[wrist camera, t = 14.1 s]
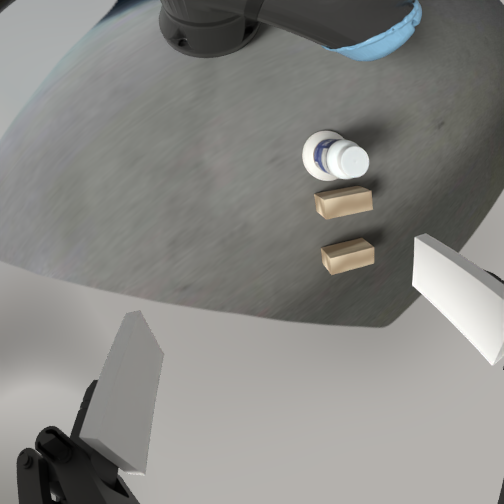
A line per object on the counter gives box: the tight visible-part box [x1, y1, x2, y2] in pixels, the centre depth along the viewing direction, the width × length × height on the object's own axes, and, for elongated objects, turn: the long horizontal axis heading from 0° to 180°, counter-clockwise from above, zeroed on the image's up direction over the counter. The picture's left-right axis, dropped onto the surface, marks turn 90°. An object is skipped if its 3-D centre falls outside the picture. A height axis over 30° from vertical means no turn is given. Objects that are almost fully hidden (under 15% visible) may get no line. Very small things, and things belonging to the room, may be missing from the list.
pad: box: [302, 131, 345, 181], centre depth 40 cm, size 8×8×1 cm
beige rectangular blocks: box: [314, 186, 374, 275], centre depth 43 cm, size 12×8×4 cm, turn 12°
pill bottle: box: [312, 139, 369, 179], centre depth 35 cm, size 5×5×10 cm
